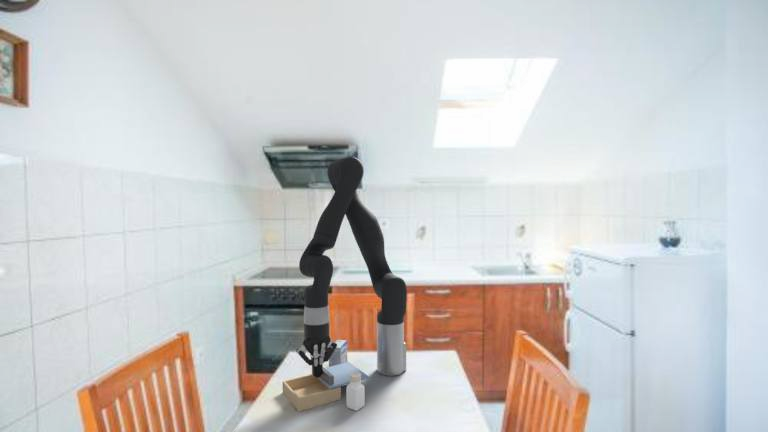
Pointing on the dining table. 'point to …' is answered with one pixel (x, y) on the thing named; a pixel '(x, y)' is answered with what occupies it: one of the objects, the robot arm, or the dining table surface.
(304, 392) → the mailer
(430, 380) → the dining table surface
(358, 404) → the pepper shaker
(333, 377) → the lid
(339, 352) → the medicine box
